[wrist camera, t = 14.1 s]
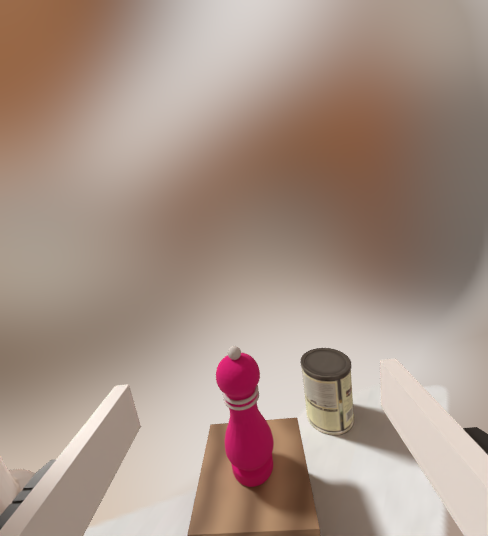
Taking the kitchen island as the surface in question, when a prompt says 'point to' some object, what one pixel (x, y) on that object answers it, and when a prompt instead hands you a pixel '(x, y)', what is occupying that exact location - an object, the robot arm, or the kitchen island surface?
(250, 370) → the pepper mill
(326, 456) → the kitchen island surface
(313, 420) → the coffee can
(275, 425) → the stool
